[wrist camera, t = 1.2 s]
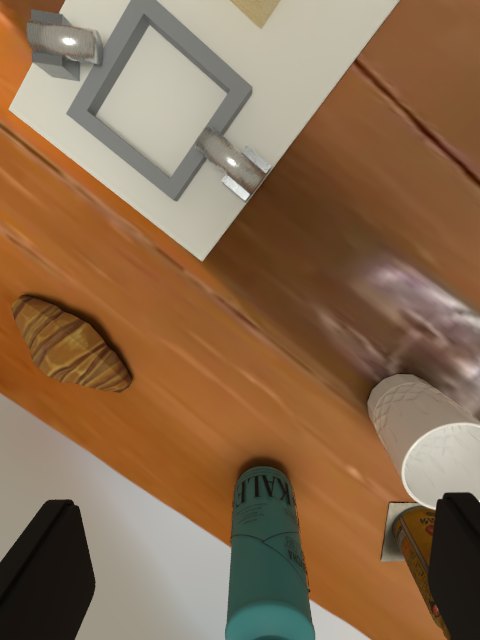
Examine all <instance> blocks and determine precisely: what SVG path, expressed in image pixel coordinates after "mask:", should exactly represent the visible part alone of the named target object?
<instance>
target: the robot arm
mask: <svg viewBox="0 0 480 640" xmlns="http://www.w3.org/2000/svg"><path fill="white" fill-rule="evenodd" d="M428 586H429V590H430V593H431V596H432V598H433V600H434V602H435V604H436V606H437V608H438V610H439V612H440V615H441V617H442V619H443V621H444V623H445V625H446V627H447V629H448V631H449V633H450V635H451V637H452V639H453V640H480V502H479V501H478V499H477V498H476V497H475V496H474V495H473V494H472V493H470V492H449V493H444V495H443V498H442V499H438V500H437V503H436V512H435V520H434V528H433V537H432V545H431V553H430V561H429V570H428ZM94 591H95V577H94V572H93V568H92V563H91V559H90V554H89V549H88V545H87V540H86V536H85V531H84V527H83V523H82V518H81V513H80V509H79V507H78V506H77V505H74V503H73V501H72V500H69V499H68V500H48V501H46V502H45V504H44V505H43V506H42V507H41V509H40V510H39V511H38V513H37V514H36V515H35V517H34V518H33V519H32V521H31V522H30V523H29V525H28V526H27V527H26V529H25V530H24V531H23V533H22V534H21V535H20V537H19V538H18V539H17V541H16V542H15V543H14V545H13V546H12V548H11V549H10V550H9V551H8V553H7V554H6V556H5V557H4V558H3V559H2V561H1V562H0V640H75V637H76V635H77V633H78V630H79V628H80V626H81V623H82V621H83V618H84V616H85V614H86V612H87V609H88V607H89V605H90V602H91V600H92V597H93V595H94Z"/></svg>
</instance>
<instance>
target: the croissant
mask: <svg viewBox="0 0 480 640" xmlns="http://www.w3.org/2000/svg"><path fill="white" fill-rule="evenodd" d="M11 309H12V312H13V316H14V319H15V322H16V324H17V326H18V328H19V330H20V332H21V334H22V336H23V338H24V340H25V342H26V344H27V345H28V347H29V348H30V352H31V356H32V361H33V362H34V363H35V364H36V366H37V367H38V368H39V369H40V370H41V371H42V372H43V374H45V375H47V376H49V377H51V378H53V379H55V380H57V381H59V382H66V383H76V384H79V385H83V386H87V387H91V388H95V389H99V390H103V391H110V392H122V391H124V390H125V389H127V388H128V387H129V386H130V384H131V382H132V377H131V375H130V373H129V371H128V369H127V367H126V366H125V364H124V363H123V362H122V360H121V359H120V357H119V356H118V355H117V353H116V352H115V351H114V350H112V349H111V348H109V347H108V346H107V344H106V343H105V341H104V340H103V339H102V337H101V336H100V335H99V334H98V333H97V332H96V331H95V330H94V329H93V327H92V326H91V325H90V324H88V323H87V322H85V321H83V320H81V319H79V318H77V317H75V316H74V315H72V314H68V313H65V312H64V311H63V310H62V309H61V308H60V307H58V306H56V305H53V304H51V303H48V302H46V301H43V300H41V299H37V298H34V297H31V296H28V295H22V296H21V297H19V298H18V299H17V300H16V301H14V302H13V304H12V307H11Z"/></svg>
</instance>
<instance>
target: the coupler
mask: <svg viewBox="0 0 480 640" xmlns="http://www.w3.org/2000/svg"><path fill="white" fill-rule="evenodd" d="M230 1H231V2H232V3H233V4H234V5H235V6H236V7H238V8H239V9H240V10H241V11H242V12H243V13H244V14H245V15H246V16H247V17H248V18H249V19H250V20H251V21H253V22H254V23H255V24H256V25H257V26H258V27H259V28H260V29H262V27H263V26H264V24H265V23H266V21H267V20H268V18H269V17H270V15H271V14H272V12H273V11H274V10H275V8H276V7H277V5H278V4H279V2H280V1H281V0H230Z"/></svg>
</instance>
